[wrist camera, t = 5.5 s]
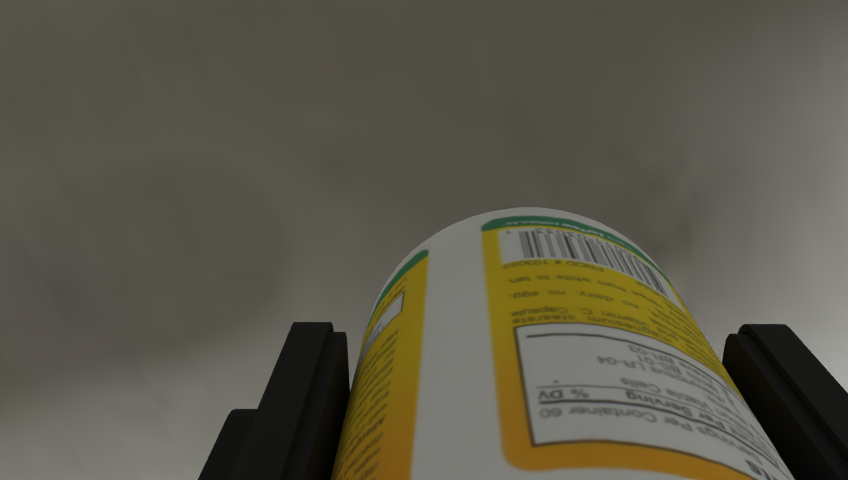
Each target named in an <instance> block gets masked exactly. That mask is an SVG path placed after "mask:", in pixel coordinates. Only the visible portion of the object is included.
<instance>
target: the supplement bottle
mask: <svg viewBox="0 0 848 480" xmlns="http://www.w3.org/2000/svg"><path fill="white" fill-rule="evenodd" d="M330 480H795V479H794V478H793V476H792V474H791V473H790V471H789V470H788V468H787V467H786V465H785V463H784V462H783V460H782V459H781V457H780V456H779V454H778V452H777V450H776V449H775V447H774V445H773V444H772V442H771V441H770V439H769V438H768V436H767V435H766V433H765V432H764V430H763V429H762V427H761V425H760V423H759V422H758V420H757V419H756V417H755V416H754V414H753V413H752V412H751V410H750V408H749V407H748V405H747V403H746V402H745V400H744V398H743V397H742V395H741V393H740V392H739V390H738V389H737V387H736V386H735V384H734V382H733V381H732V379H731V378H730V376H729V374H728V373H727V371H726V369H725V368H724V366H723V365H722V363H721V362H720V360H719V359H718V357H717V355H716V354H715V352H714V351H713V349H712V348H711V346H710V345H709V343H708V341H707V340H706V338H705V336H704V335H703V333H702V332H701V330H700V329H699V327H698V326H697V324H696V323H695V321H694V320H693V318H692V316H691V315H690V313H689V311H688V310H687V308H686V307H685V305H684V303H683V302H682V300H681V298H680V297H679V295H678V294H677V292H676V291H675V289H674V288H673V287H672V285H671V283H670V282H669V280H668V279H667V278H666V276H665V275H664V273H663V272H662V271H661V270H660V269H659V267H658V266H657V265H656V264H655V262H654V261H653V260H652V259H651V258H650V257H649V256H648V255H647V254H646V253H645V252H644V251H643V250H642V249H640V248H639V247H638V246H637V245H636V244H635V243H633V242H632V241H631V240H629V239H628V238H626V237H625V236H624V235H622V234H620V233H619V232H617V231H615V230H613V229H611V228H610V227H608V226H606V225H604V224H602V223H600V222H598V221H595V220H592V219H589V218H587V217H584V216H580V215H577V214H574V213H570V212H566V211H562V210H556V209H548V208H538V207H518V208H510V209H503V210H497V211H491V212H487V213H483V214H479V215H475V216H472V217H469V218H467V219H464V220H462V221H459V222H456V223H454V224H452V225H450V226H448V227H446V228H444V229H442V230H441V231H439V232H437V233H436V234H434V235H433V236H431V237H430V238H428V239H427V240H426V241H424V242H423V243H421V244H420V245H419V246H417V247H416V248H415V249H414V250H412V251H411V252H410V253H409V254H408V255H407V256H406V257H405V258H404V259H403V260H402V261H401V262H400V263H399V265H398V266H397V267H396V269H395V270H394V272H393V273H392V274H391V276H390V277H389V279H388V280H387V282H386V283H385V285H384V287H383V288H382V290H381V292H380V294H379V296H378V298H377V300H376V302H375V304H374V307H373V309H372V311H371V314H370V317H369V320H368V323H367V326H366V330H365V335H364V339H363V343H362V347H361V352H360V356H359V360H358V364H357V368H356V372H355V375H354V379H353V383H352V387H351V391H350V396H349V400H348V405H347V409H346V413H345V417H344V421H343V426H342V430H341V435H340V439H339V444H338V448H337V453H336V457H335V461H334V465H333V470H332V474H331V478H330Z"/></svg>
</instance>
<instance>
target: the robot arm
mask: <svg viewBox="0 0 848 480" xmlns="http://www.w3.org/2000/svg"><path fill="white" fill-rule="evenodd" d="M722 365H723V366H724V368H725V369H726V371H727V373H728V374H729V376H730V378H731V379H732V381H733V382H734V384H735V386H736V387H737V389H738V390H739V392H740V393H741V395H742V397H743V398H744V400H745V402H746V403H747V405H748V407H749V408H750V410H751V412H752V413H753V414H754V416H755V417H756V419H757V420H758V422H759V423H760V425H761V427H762V429H763V430H764V432H765V433H766V435H767V436H768V438H769V439H770V441H771V442H772V444H773V445H774V447H775V449H776V450H777V452H778V454H779V456H780V457H781V459H782V460H783V462H784V463H785V465H786V467H787V468H788V470H789V471H790V473H791V474H792V476H793V478H794V479H795V480H848V393H847V392H846V391H845V390H844V389H843V387H842V386H841V385H840V384H839V383H838V382H837V381H836V380H835V378H834V377H833V376H832V375H831V374H830V373H829V372H828V371H827V369H826V368H825V367H824V366H823V365H822V364H821V363H820V362H819V360H818V359H817V358H816V357H815V356H814V355H813V354H812V353H811V351H810V350H809V349H808V348H807V347H806V346H805V345H804V344H803V342H802V341H801V340H800V339H799V338H798V337H797V336H796V335H795V333H794V332H793V331H792V330H791V329H790V328H789V327H788V326H786V325H785V324H744V325H742V326H741V327H740V329H739V331H738V334H730V335H728V337H727V339H726V342H725V347H724V354H723V360H722ZM349 396H350V386H349V368H348V350H347V337H346V333H345V332H334V330H333V325H332V323H331V322H294V323H293V324H292V326H291V329H290V331H289V334H288V336H287V339H286V341H285V343H284V346H283V348H282V351H281V353H280V356H279V358H278V360H277V363H276V365H275V368H274V370H273V372H272V375H271V377H270V380H269V382H268V385H267V387H266V389H265V392H264V394H263V397H262V399H261V402H260V404H259V406H258V409H234V410H232V411H231V412H230V414H229V415H228V417H227V419H226V421H225V423H224V425H223V427H222V430H221V432H220V434H219V436H218V438H217V440H216V442H215V444H214V447H213V449H212V451H211V453H210V455H209V457H208V459H207V461H206V464H205V466H204V468H203V470H202V472H201V474H200V476H199V479H198V480H330V478H331V474H332V470H333V465H334V461H335V457H336V453H337V448H338V444H339V439H340V435H341V430H342V426H343V421H344V417H345V413H346V409H347V405H348V400H349Z"/></svg>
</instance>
